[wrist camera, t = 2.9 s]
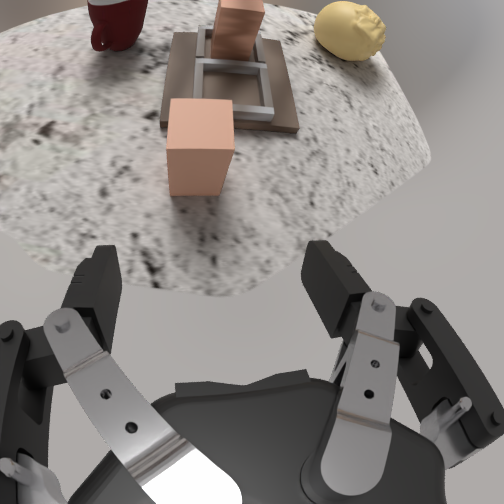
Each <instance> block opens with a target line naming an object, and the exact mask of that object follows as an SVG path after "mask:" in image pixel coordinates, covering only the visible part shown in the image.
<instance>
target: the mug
mask: <svg viewBox="0 0 504 504" xmlns="http://www.w3.org/2000/svg"><path fill="white" fill-rule="evenodd" d="M147 4H148V0H88V10H89V16H90V19H91V21H92V23H93V26H94V28H93V31H92V35H91V44H92V47H93V49H94V50H95V51H99V52H100V51H105V50H107V49H108V48H109V49H110V50H112V51H122V50H125V49H128V48H130V47H131V46H132V45H133V44H134V43H135V41H136V40H137V38H138V36H139V34H140V33H141V30H142V28H143V23H144V18H145V13H146V9H147ZM101 42H102V43H103V45H102V43H101Z"/></svg>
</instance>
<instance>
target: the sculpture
mask: <svg viewBox="0 0 504 504" xmlns="http://www.w3.org/2000/svg"><path fill="white" fill-rule="evenodd" d="M385 30H386V26H385V25H384V24H383V23H382V21H381V20H380V18H379V17H378V16H377V15H376V14H375V13H374V12H373V11H372V10H370V9H369V8H368V7H367V6H366V5H363V6H362V5H358V4H355V3H352V2H346V1H338V2H334V3H331V4H329V5H327V6H326V7H325V8H323V9H322V10H321V11H320V13H319V14H318V15H317V17H316V20H315V24H314V33H315V37H316V39H317V40H318V41H319V43H320V44H321V45H322V46H323V47H325V48H326V49H327V50H328V51H330V52H331V53H332V54H334V55H336V56H337V57H339V58H341V59H344V60H348V61H357V60H359V61H364V60H366V59H368V58H369V57H370V56H375V54H376V52H377V51H380V49H381V48H382V44H383V43H384V41H385V38H386V37H385V35H384V32H385Z"/></svg>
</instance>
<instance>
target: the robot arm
mask: <svg viewBox="0 0 504 504" xmlns="http://www.w3.org/2000/svg"><path fill="white" fill-rule="evenodd" d="M301 280H302V283H303V285H304V287H305V289H306V291H307V293H308V295H309V297H310V299H311V301H312V302H313V304H314V306H315V308H316V310H317V312H318V314H319V316H320V318H321V320H322V322H323V323H324V326H325V328H326V329H327V331H328V333H329V335H330V337H331V338H337V337H342V338H343V342H342V344H341V346H340V350H339V353H338V356H337V359H336V362H335V365H334V368H333V371H332V374H331V377H330V380H329V382H328V381H325V380H321V379H315V378H309V375H308V373H307V370H306V369H304V370H298V371H292V372H286V373H279V374H275V375H273V376H270V377H267V378H265V379H262V380H259V381H257V382H254V383H251V384H248V385H233V384H224V383H216V382H210V381H206V382H189V383H175V390H176V392H175V393H172V394H168V395H166V396H164V397H161V398H159V399H158V400H156V401H154V402H153V403H151V404H149V403H148V402H147V400H146V399H145V398H144V397H143V396H142V395H141V393H140V392H139V391H138V390H137V389H136V387H135V386H134V385H133V384H132V383H131V381H130V380H129V379H128V378H127V376H126V375H125V374H124V373H123V371H122V370H121V369H120V368H119V366H118V365H117V364H116V362H115V361H114V360H113V358H112V357H111V356H110V354H111V349H112V342H113V336H114V329H115V323H116V318H117V312H118V307H119V302H120V296H121V291H122V278H121V273H120V267H119V262H118V257H117V251H116V247H115V245H99V246H96V248H95V250H94V253H93V255H92V258H85V259H84V260H83V261H82V262H81V263H80V264H79V265H78V266H77V269H76V271H75V273H74V277H73V278H72V280H71V284H70V285H69V288H68V290H67V293H66V295H65V298H64V301H63V303H62V306H61V308H60V309H58V310H56V311H54V312H52V313H51V314H50V315H49V316H48V317H47V318H46V320H45V322H44V326H41V327H37V328H33V329H29V330H24V328H23V327H22V325H21V324H20V323H19V322H18V321H14V320H10V321H7V322H4V323H2V324H1V325H0V504H447V503H446V497H445V482H444V480H445V470H446V469H450V468H453V467H455V466H456V465H458V464H459V463H462V462H463V461H465V460H467V459H468V458H470V457H471V456H473V455H474V454H476V453H477V452H479V451H480V450H482V449H484V448H485V447H486V446H488V445H489V444H491V443H492V442H494V441H495V440H496V439H498V438H499V437H500V436H502V435H503V434H504V409H503V407H502V405H501V403H500V401H499V399H498V398H497V396H496V394H495V392H494V391H493V389H492V387H491V386H490V384H489V382H488V381H487V379H486V377H485V376H484V374H483V372H482V371H481V369H480V368H479V366H478V365H477V363H476V361H475V360H474V359H473V357H472V355H471V354H470V352H469V351H468V349H467V348H466V346H465V345H464V343H463V342H462V341H461V339H460V338H459V336H458V335H457V334H456V332H455V331H454V329H453V328H452V326H450V324H449V322H448V321H447V320H446V318H445V317H444V316H443V314H442V313H441V312H440V310H439V309H438V308H437V306H436V305H435V304H433V303H432V302H431V301H429V300H427V299H424V298H416V299H414V300H413V301H412V303H411V305H410V307H401V306H395V304H394V302H393V301H392V300H391V299H390V298H389V297H388V296H386V295H385V294H382V293H380V292H374V291H372V290H371V289H370V288H369V286H368V285H367V284H366V282H365V281H364V280H363V278H362V277H361V276H360V274H359V273H357V270H356V269H355V268H354V267H352V264H351V263H350V261H349V260H348V259H347V258H346V257H345V256H343V255H342V254H341V253H339V252H337V251H335V250H334V249H333V247H332V246H331V245H330V243H329V242H328V241H326V240H320V241H309V243H308V245H307V249H306V253H305V257H304V262H303V265H302V270H301ZM423 343H424V344H425V346H426V348H427V349H428V351H429V352H430V354H431V356H432V359H433V365H432V367H431V369H429V367H428V366H427V364H426V362H425V361H424V359H423V357H422V356H421V354H420V352H419V351H418V350H419V348H420V347H421V345H422V344H423ZM397 376H398V379H399V381H400V383H401V385H402V387H403V388H404V391H405V393H406V394H407V397H408V399H409V401H410V403H411V405H412V407H413V409H414V411H415V413H416V415H417V417H418V419H419V422H420V424H421V425H420V434H418V433H417V432H415V431H413V430H412V429H410V428H408V427H406V426H404V425H403V424H401V423H399V422H397V421H396V420H394V419H392V418H391V411H392V405H393V399H394V392H395V384H396V377H397ZM67 382H68V384H69V386H70V388H71V389H72V391H73V393H74V395H75V396H76V398H77V400H78V401H79V403H80V405H81V406H82V408H83V409H84V411H85V413H86V414H87V416H88V417H89V419H90V420H91V422H92V423H93V425H94V426H95V428H96V429H97V431H98V432H99V433H100V435H101V436H102V438H103V439H104V440H105V442H106V443H107V444H108V446H109V447H110V448H111V450H110V451H109V452H108V453H107V455H106V456H105V457H104V458H103V459H102V461H101V462H100V463H99V464H98V465H97V467H96V468H95V469H94V470H93V471H92V473H91V474H90V475H89V476H88V477H87V478H86V480H85V481H84V482H83V483H82V484H81V486H80V487H79V488H78V489H77V490H76V491H75V493H74V494H73V495H72V496H71V498H70V499H69V501H68V502H67V501H66V500H65V498H64V497H63V495H62V492H61V488H60V484H59V481H58V479H57V477H56V475H55V474H54V473H53V472H52V471H51V470H49V469H48V440H49V423H50V412H51V403H52V395H53V387H54V385H59V384H63V383H67Z"/></svg>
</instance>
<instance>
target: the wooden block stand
mask: <svg viewBox="0 0 504 504" xmlns="http://www.w3.org/2000/svg"><path fill="white" fill-rule="evenodd" d="M264 14H265V10H264V6H263V2H262V0H219V3H218V8H217V12H216V17H215V22H214V26H208V25H199V27H198V33H195V32H174V35H173V40H172V45H171V50H170V55H169V61H168V67H167V73H166V79H165V85H164V92H163V100H162V107H161V115H160V128H163V127H168V122H169V112H170V102H171V99H174V98H190V99H222V100H232V108H233V126H234V128H235V129H251V130H264V131H275V132H285V133H294V134H296V133H297V131H298V130H299V123H298V118H297V113H296V108H295V103H294V99H293V94H292V89H291V85H290V80H289V76H288V72H287V67H286V63H285V59H284V55H283V51H282V47H281V43H280V41H277V40H271V39H264V38H262V37H261V32H260V30H259V28H260V25H261V22H262V19H263V17H264Z"/></svg>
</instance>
